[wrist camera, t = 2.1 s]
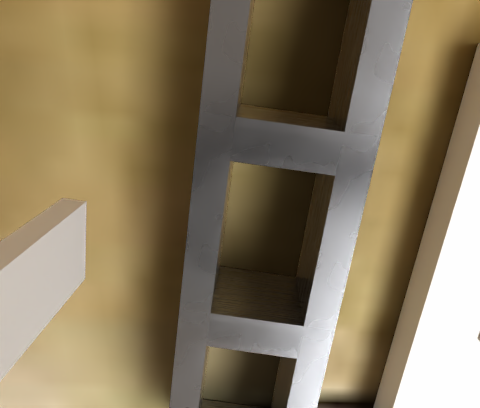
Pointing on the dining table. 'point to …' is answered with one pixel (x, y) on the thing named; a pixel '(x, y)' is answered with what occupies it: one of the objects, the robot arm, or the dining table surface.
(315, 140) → the grey compartment rack
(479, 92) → the white board
